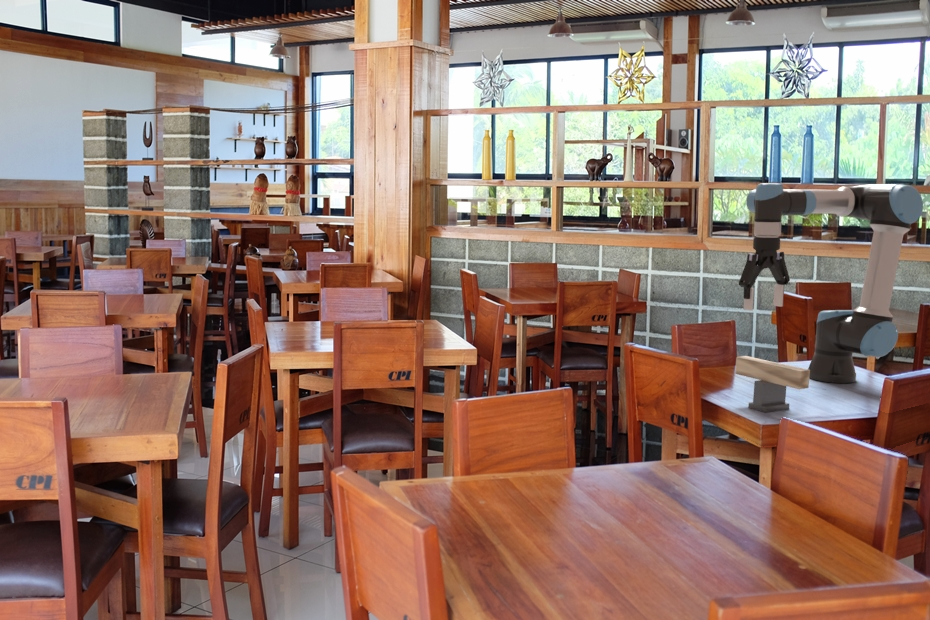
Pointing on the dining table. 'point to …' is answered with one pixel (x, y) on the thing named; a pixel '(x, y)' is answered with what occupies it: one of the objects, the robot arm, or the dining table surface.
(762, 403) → the gray pedestal stand
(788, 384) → the ash bar
